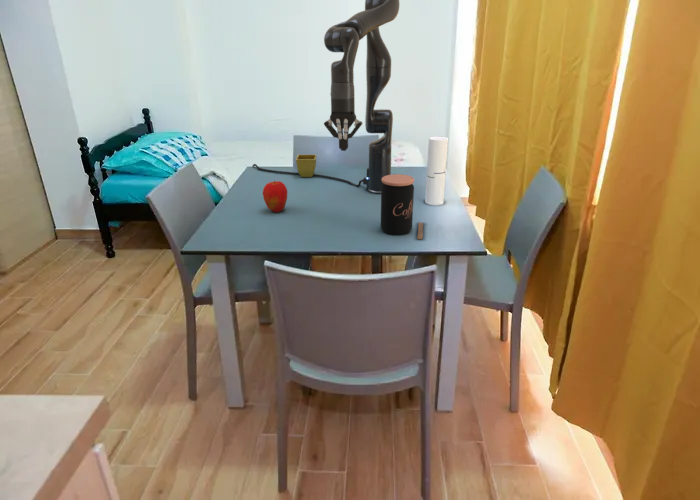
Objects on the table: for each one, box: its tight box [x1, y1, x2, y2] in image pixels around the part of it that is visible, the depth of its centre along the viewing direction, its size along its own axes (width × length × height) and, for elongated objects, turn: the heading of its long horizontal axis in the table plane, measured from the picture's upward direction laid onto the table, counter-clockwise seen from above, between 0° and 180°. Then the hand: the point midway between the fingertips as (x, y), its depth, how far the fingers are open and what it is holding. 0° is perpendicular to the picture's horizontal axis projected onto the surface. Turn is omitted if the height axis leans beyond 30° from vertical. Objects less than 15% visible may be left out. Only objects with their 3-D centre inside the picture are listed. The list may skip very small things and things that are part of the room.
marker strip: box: [416, 222, 424, 241], centre depth 165 cm, size 2×14×1 cm, turn 171°
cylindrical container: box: [424, 135, 449, 206], centre depth 187 cm, size 7×7×25 cm
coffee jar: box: [380, 173, 415, 236], centre depth 163 cm, size 11×11×18 cm
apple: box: [262, 180, 288, 213], centre depth 183 cm, size 9×9×12 cm
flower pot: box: [295, 154, 317, 178], centre depth 226 cm, size 9×9×9 cm
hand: (343, 150), depth 163 cm, fingers closed
